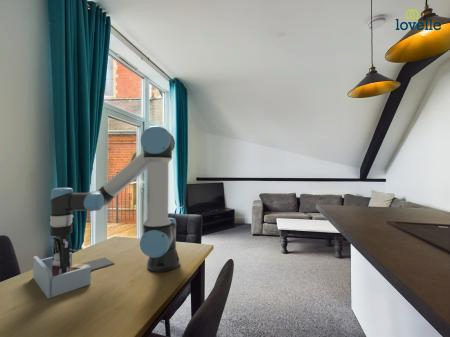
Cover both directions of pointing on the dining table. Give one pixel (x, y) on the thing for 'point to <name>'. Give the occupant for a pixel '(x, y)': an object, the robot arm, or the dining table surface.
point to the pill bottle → (56, 265)
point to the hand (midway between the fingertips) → (60, 280)
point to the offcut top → (78, 266)
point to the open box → (58, 277)
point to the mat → (99, 263)
